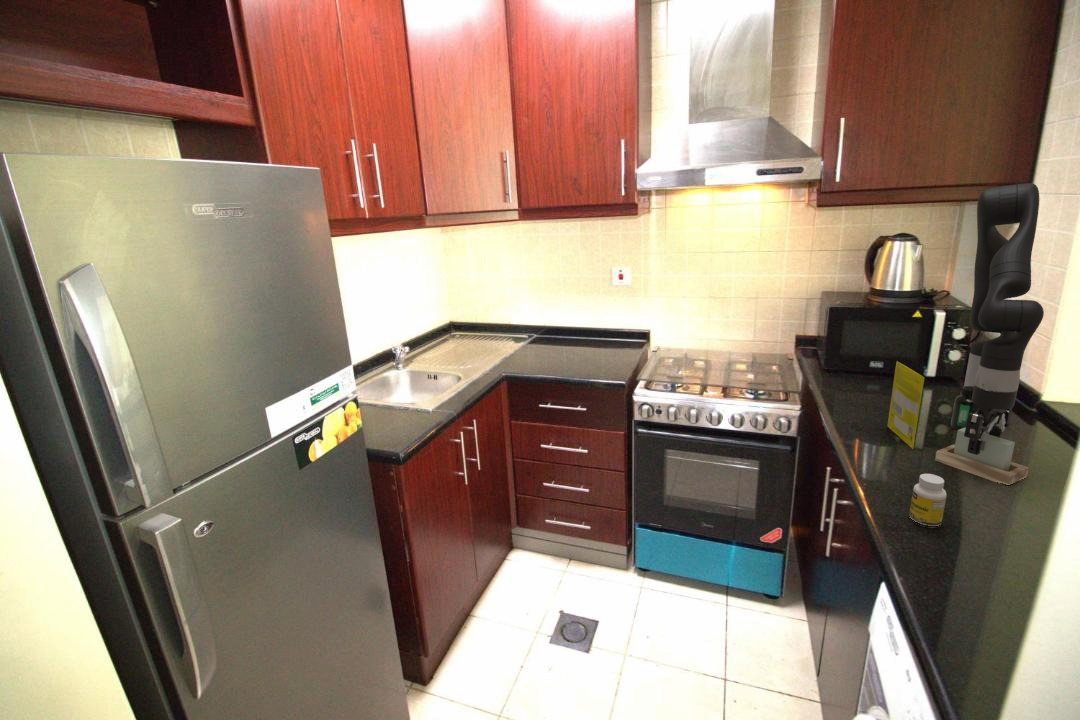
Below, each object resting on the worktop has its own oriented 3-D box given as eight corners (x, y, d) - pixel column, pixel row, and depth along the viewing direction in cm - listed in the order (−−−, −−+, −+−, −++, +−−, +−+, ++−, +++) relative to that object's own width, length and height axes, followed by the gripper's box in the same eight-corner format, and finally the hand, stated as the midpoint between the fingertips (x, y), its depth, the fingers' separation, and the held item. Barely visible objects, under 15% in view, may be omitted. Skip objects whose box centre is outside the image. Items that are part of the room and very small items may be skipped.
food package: (915, 449, 134) (926, 377, 129) (910, 449, 135) (921, 377, 129) (889, 426, 149) (898, 361, 143) (885, 426, 149) (894, 360, 144)
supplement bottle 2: (962, 433, 142) (970, 393, 138) (944, 424, 148) (951, 385, 145) (987, 432, 142) (996, 392, 138) (968, 423, 148) (975, 384, 145)
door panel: (959, 456, 128) (965, 427, 126) (1008, 473, 120) (1015, 442, 117) (952, 459, 127) (957, 430, 125) (1001, 476, 118) (1007, 445, 116)
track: (953, 452, 132) (954, 443, 131) (1026, 477, 119) (1028, 467, 118) (935, 460, 128) (936, 451, 128) (1008, 486, 115) (1010, 476, 115)
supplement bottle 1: (902, 514, 107) (908, 472, 105) (926, 512, 108) (933, 470, 105) (923, 529, 102) (930, 486, 100) (948, 527, 103) (956, 483, 100)
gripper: (992, 375, 124) (980, 436, 128) (959, 386, 118) (948, 450, 123) (1032, 383, 117) (1018, 447, 122) (999, 396, 112) (985, 462, 116)
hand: (983, 449), depth 122 cm, fingers open, 8 cm apart
